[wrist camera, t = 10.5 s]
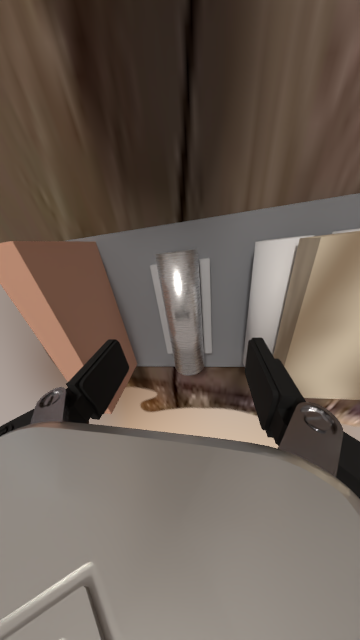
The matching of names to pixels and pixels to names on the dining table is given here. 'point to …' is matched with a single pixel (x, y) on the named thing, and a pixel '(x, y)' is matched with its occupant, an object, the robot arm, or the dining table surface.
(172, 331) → the roller
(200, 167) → the dining table surface
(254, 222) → the roller bed
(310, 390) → the slab
